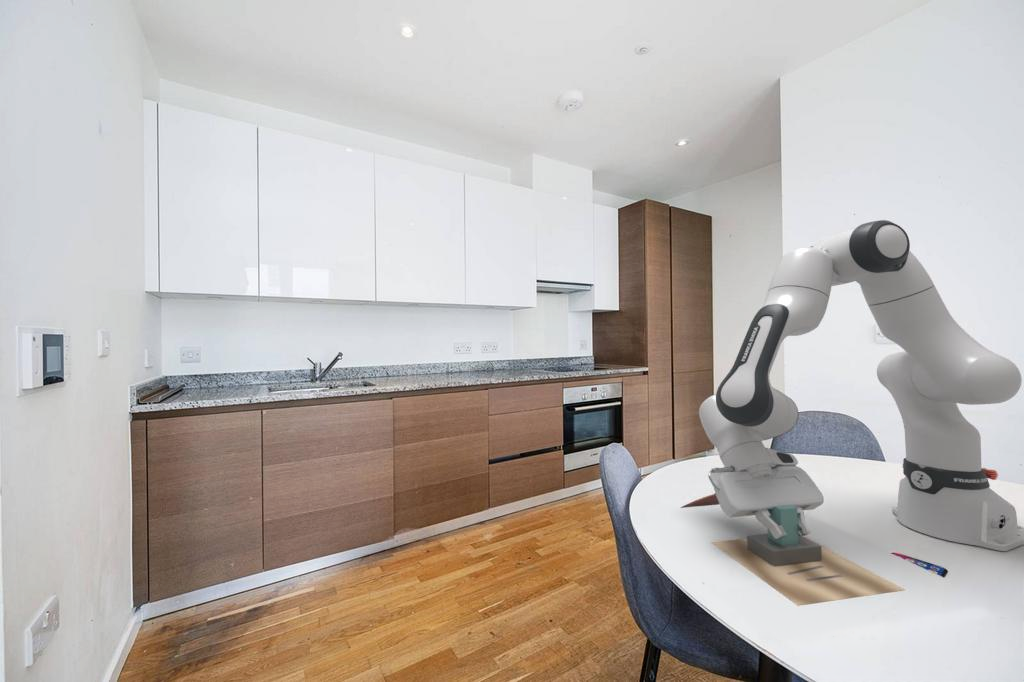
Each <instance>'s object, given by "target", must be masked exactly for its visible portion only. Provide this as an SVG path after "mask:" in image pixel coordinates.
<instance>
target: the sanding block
mask: <svg viewBox="0 0 1024 682" xmlns="http://www.w3.org/2000/svg"><path fill="white" fill-rule="evenodd" d="M767 510H768V512H769V513H770V516H769V517H770V518H771V519H772V520H773V521H774V522H775V523H776V524H777V525H782V527H783V528H784V531H786V533H787V536H786V537H784V538H779V539H775V538H774V537H773V535H772V533H771V532H770V530H769V529H767V533H761V534H760V533H758V534H751V535H747V536H746V539H747V549H748V550H750V551H751V552H753V553H754V554H756V555H758V556H759V557H761V558H762V559H764V560H765V561H767V562H768V563H770V564H772V565H773V566H778V565H786V564H794V563H802V562H811V561H819V560H822V550H821V546H822V545H821V544H819V543H818V544H819V545H818V544H816V543H817V542H816V543H814V542H815V541H814V542H812V541H813V540H812V541H810V540H811V539H810V538H808V537H806V536H804V537H803V536H798V515H797V508H796V507H794V506H792V505H781V506H774V508H773V509H767ZM805 537H806V538H805ZM807 538H808V539H807ZM809 539H810V540H809ZM820 545H821V546H820Z"/></svg>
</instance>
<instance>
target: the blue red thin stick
mask: <svg viewBox="0 0 1024 682" xmlns="http://www.w3.org/2000/svg"><path fill="white" fill-rule="evenodd" d="M890 554H891V555H894V556H896V557H898V558H900V559H902V560H905V561H907V562H909V563H911V564H913V565H916V566H918V567H920V568H921V569H924V570H925V571H929V572H931V573H933V574H935V575H937V576H939V577H942V578H945V577H946V576H947V574H948V572H949V570H948V569H947V568H946V567H944V566H941V565H937V564H935V563H932V562H931V563H930V562H927V561H926V560H921V559H918V558H915V557H912V556H908V555H906V554H902V553H899V552H892V553H891V552H890Z"/></svg>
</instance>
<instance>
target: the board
mask: <svg viewBox="0 0 1024 682" xmlns="http://www.w3.org/2000/svg"><path fill="white" fill-rule="evenodd" d="M803 537H805V538H807V539H809V540H810V541H812V542H814V543H816V544H818V545H820V546H821V550H822V560H819V561H811V562H802V563H794V564H786V565H778V566H773V565H772V564H770V563H768V562H767V561H765V560H764V559H762V558H761V557H759V556H758V555H756V554H754V553H753V552H751V551H750V550H748V549H747V538H741V539H740V538H739V539H730V540H721V541H712V542H710V543H711V544H712V545H714V546H715V547H717V548H718V549H719V550H721V551H722V552H723V553H725V554H727V556H729V557H730V558H732V559H733V560H735V561H736V562H737V563H739V564H740V565H741V566H743V567H744V568H745V569H747V570H748V571H750V572H751V573H753V574H754V575H755V576H756V577H758V578H759V579H760V580H762V581H763V582H765V583H766V584H768V586H770V587H771V588H773V589H774V590H775V591H777V592H778V593H780V594H781V595H782V596H784V597H785V598H786V599H788V600H789V601H790V602H791V603H794V604H795V605H796V606H797V607H798V606H799V607H800V606H805V605H812V604H818V603H825V602H833V601H834V602H835V601H839V600H840V601H841V600H847V599H852V598H860V597H867V596H868V597H869V596H873V595H874V596H875V595H881V594H882V595H883V594H887V593H888V594H889V593H895V592H902V591H906V589H905V588H903V587H902V586H900V585H897V584H895V583H894V582H892V581H890V580H888V579H886V578H884V577H882V576H881V575H878V574H877V573H876V572H875V573H874V572H872V571H871V570H869V569H867V568H866V567H863V566H861V565H860V564H857V563H855V562H854V561H852V560H850V559H848V558H846V557H844V556H842V555H841V554H839V553H836V552H834V551H833V550H831V549H829V548H827V547H826V546H823V545H821V544H819V543H817V542H816V541H813V539H810V538H808V537H806V536H803Z"/></svg>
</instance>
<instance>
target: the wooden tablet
mask: <svg viewBox="0 0 1024 682" xmlns="http://www.w3.org/2000/svg"><path fill="white" fill-rule="evenodd" d="M717 505H719V506H720V504H719V501H718V499H717V496H716V493H715V492H714V493H713V494H709V495H708V496H705V497H704V496H703V497H702V498H701V497H700V498H699V499H696V500H693V501H691V502H688V503H686V504H685V505H682V506H681V507H680V509H683V508H696V507H707V506H717Z"/></svg>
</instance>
